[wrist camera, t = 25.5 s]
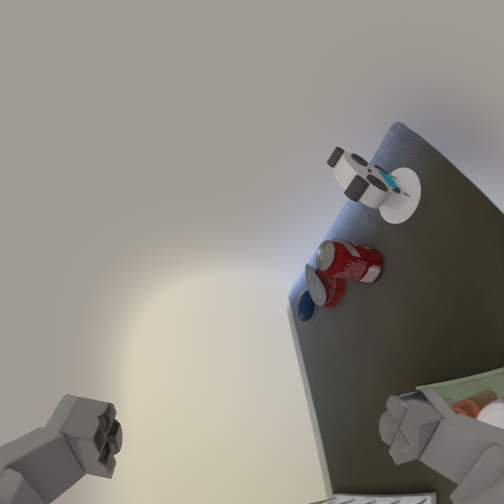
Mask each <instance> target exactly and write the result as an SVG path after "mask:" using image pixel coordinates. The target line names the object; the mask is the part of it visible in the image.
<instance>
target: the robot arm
mask: <svg viewBox="0 0 504 504" xmlns="http://www.w3.org/2000/svg"><path fill="white" fill-rule="evenodd" d="M386 407H387V409H388V410H387V411H386V412H385V413H384V414H383V415H382V416H381V419H380V422H379V432H380V436H381V438H382V440H383V442H385V443H387V444H389V445H390V449H389V452H390V454H391V456H392V458H393V459H394V461H395V463H396V465H399V464H403V463H406V462H410V461H413V460H416V459H419V460H420V461H421V462H423V463H424V464H426V465H427V466H429V467H431V468H432V469H434V470H435V471H437V472H439V473H440V474H442V475H443V476H445V477H447V478H448V479H450V480H452V481H453V482H455V483H457V484H458V486H457V487H456V489H455V490H454V491H453V492H452V493H451V496H450V499H451V500H452V502H453V504H504V429H501V428H498V427H496V426H493V425H490V424H487V423H485V422H482V421H479V420H476V419H474V418H471V417H469V416H466V415H463V414H461V413H458V414H456V413H455V412H454V411H453V410H452V409H451V407H450V406H449V405H448V404H447V403H446V402H445V401H444V399H443V398H442V397H441V396H440V395H439V394H438V393H437V391H436V390H435V389H434V388H432V387H430V386H429V387H425V388H421V389H417V390H414V391H409V392H405V393H401V394H396V395H392V396H390V397H389V399H388V400H387V403H386ZM115 415H116V410H115V407H114V405H113V404H112V403H108V402H102V401H97V400H92V399H87V398H82V397H81V398H80V397H76V396H72V395H66V396H64V397H63V398H62V400H61V401H60V403H59V405H58V406H57V408H56V409H55V411H54V413H53V415H52V416H51V418H50V419H49V421H48V423H47V424H46V426H45V428H41V427H40V428H38V429H36V430H34V431H32V432H30V433H28V434H26V435H24V436H22V437H20V438H18V439H16V440H14V441H12V442H10V443H7V444H5V445H3V446H1V447H0V504H50V503H51V502H52V501H54V500H55V499H56V498H58V497H59V496H60V495H61V494H62V493H64V492H65V491H66V490H68V489H69V488H70V487H71V486H72V485H74V484H75V483H76V482H77V481H79V480H80V479H81V478H82V477H83V476H84V475H85V473H87V474H91V475H96V476H101V477H106V478H112V475H113V472H114V469H115V465H116V460H115V458H114V455H115V454H117V453H118V452H120V449H121V445H122V429H121V426H120V423H119V422H118V421H117V420H115Z"/></svg>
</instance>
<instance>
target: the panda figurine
mask: <svg viewBox="0 0 504 504" xmlns="http://www.w3.org/2000/svg"><path fill="white" fill-rule="evenodd" d="M327 163H328V165H329V166H331V167H333V168H334V169H333V173H334V176H335V178H336V179H337V181H338V182H339V184H340V185H341V186H342V187H343V189H345V192H344V193H345V195H346V196H347V197H348V198H350V199H351V200H353V201H355V202H358V201H360V202H361V203H363V204H365V205H367V206H369V207H371V208H374V209H377V208H379V210H380V213H381V215H382V217H383V218H384V219H385V220H386V221H387V222H389V223H392V224H399V223H402V222H404V221H406V220H407V219H409V218H410V217H411V216H412V214H413V213H414V212H415V210H416V208H417V206H418V204H419V201H420V196H421V184H420V180H419V178H418V176H417V174H416V173H415V172H414V171H412V170H411V169H409V168H399V169H396V170H395V171H393V172H392V173H391V174H390V175H389V174H387V172H385V171H384V170H383V169H382V168H381V167H379V166H377V165H375V166H372V165H371V164H370V163H368V162H367V161H365V160H364V159H363V158H361V157H360V156H358V155H356V154H351V153H347V152H345V151H344V150H343V149H341V148H339V147H336V149H335V150H334V152H333V153H332V155H331V157H330V158H329V160H328V161H327Z"/></svg>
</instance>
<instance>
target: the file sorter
mask: <svg viewBox="0 0 504 504" xmlns="http://www.w3.org/2000/svg"><path fill="white" fill-rule="evenodd" d="M330 501H334V504H437V494H436V492H429V493H417V494H395V495H371V494H347V493H338V494H334V495H333V498H332V499H328V500H324V501H320V502H316V503H311V504H322V503H326V502H330Z"/></svg>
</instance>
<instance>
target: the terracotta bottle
mask: <svg viewBox="0 0 504 504" xmlns="http://www.w3.org/2000/svg"><path fill="white" fill-rule="evenodd" d="M495 400H498V397H497V396H496V395H495V394H494V393H493V392H491V391H483V392H480V393H478V394H475V395H473V396H470V397H467V398H464V399H462V400H459V401H457V402H456V403H454V404H453V405H452V407H451V409H452V410H453V411H454V412H455V413H456V414H458V413H461V414H463V415H466V416H469V417H471V418H474V419H477V416H478V414H479V413H480V411H481V410H482V409H483V408H484V407H485V406H487V405H488V404H490V403H491V402H493V401H495Z"/></svg>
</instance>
